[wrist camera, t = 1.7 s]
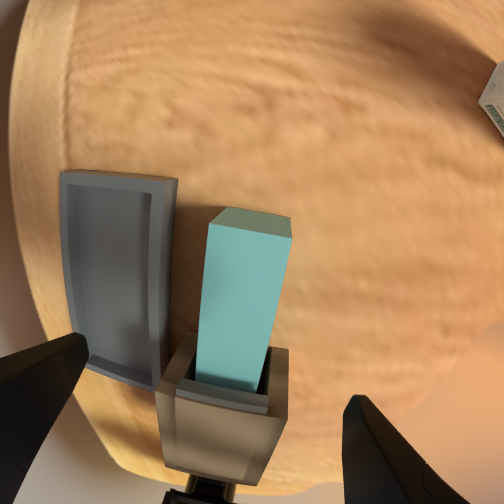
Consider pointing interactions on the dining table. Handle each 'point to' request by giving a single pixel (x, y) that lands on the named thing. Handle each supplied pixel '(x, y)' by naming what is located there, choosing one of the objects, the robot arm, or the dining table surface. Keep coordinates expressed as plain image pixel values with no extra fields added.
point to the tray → (119, 269)
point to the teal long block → (240, 296)
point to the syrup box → (495, 97)
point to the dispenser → (220, 419)
